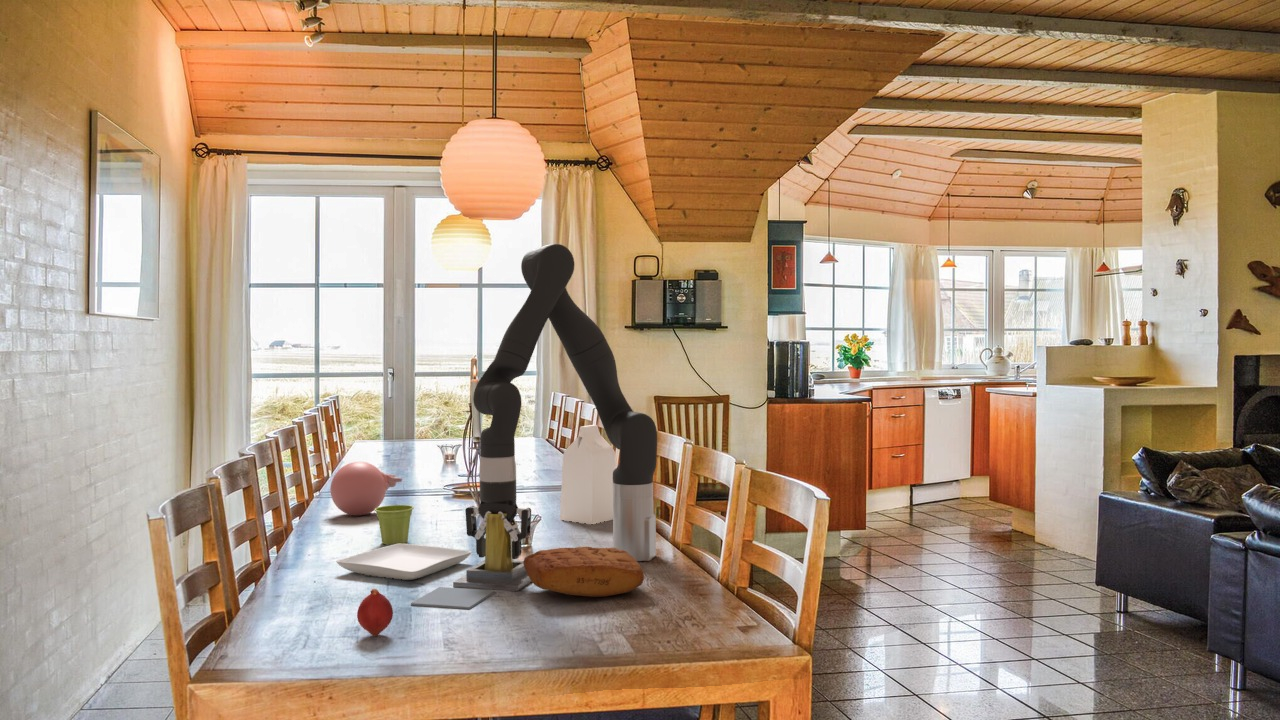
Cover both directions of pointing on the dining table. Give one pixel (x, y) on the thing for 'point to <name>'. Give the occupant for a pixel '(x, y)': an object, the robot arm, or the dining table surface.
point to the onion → (375, 613)
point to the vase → (497, 544)
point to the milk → (588, 478)
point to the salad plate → (403, 561)
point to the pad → (453, 598)
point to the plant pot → (394, 523)
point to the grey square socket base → (494, 578)
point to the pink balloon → (360, 488)
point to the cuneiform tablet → (584, 571)
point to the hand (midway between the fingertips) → (498, 557)
